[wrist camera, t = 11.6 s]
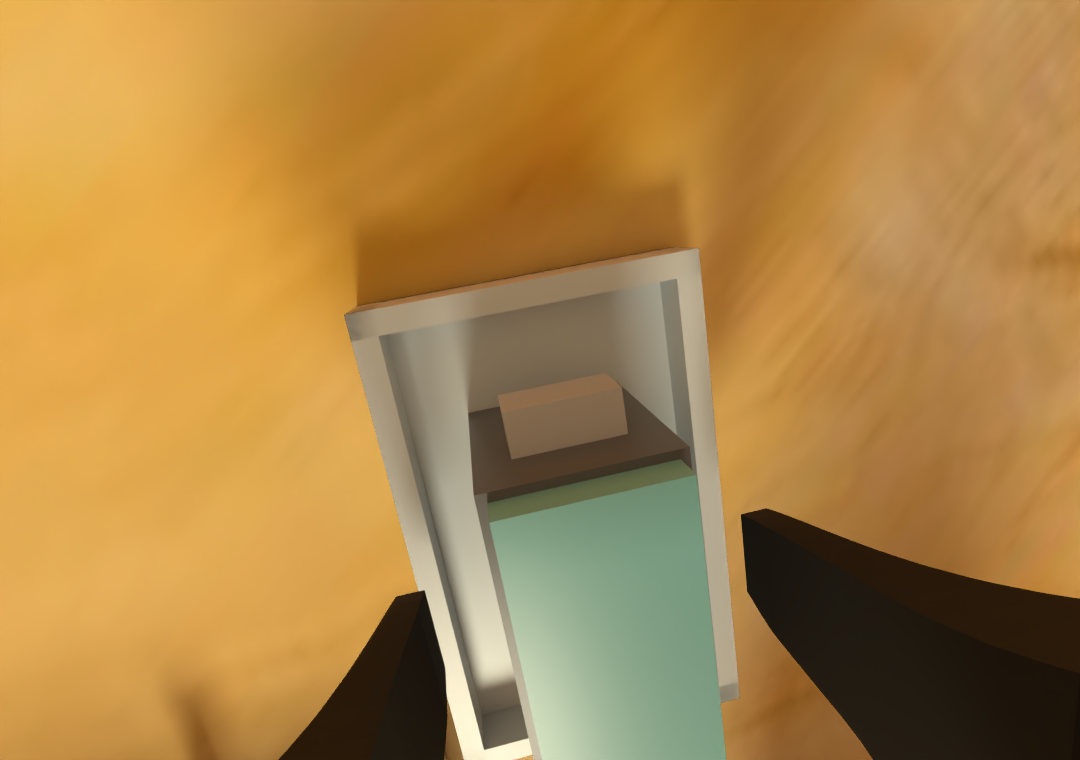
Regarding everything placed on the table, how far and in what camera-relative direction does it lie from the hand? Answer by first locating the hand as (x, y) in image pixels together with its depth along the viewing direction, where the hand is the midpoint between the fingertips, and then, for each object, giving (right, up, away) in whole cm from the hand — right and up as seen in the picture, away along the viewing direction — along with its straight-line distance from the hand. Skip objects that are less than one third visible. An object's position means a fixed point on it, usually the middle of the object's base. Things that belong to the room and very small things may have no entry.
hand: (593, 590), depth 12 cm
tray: (-1, +1, +4) cm, 4 cm away
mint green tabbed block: (0, 0, +3) cm, 4 cm away
